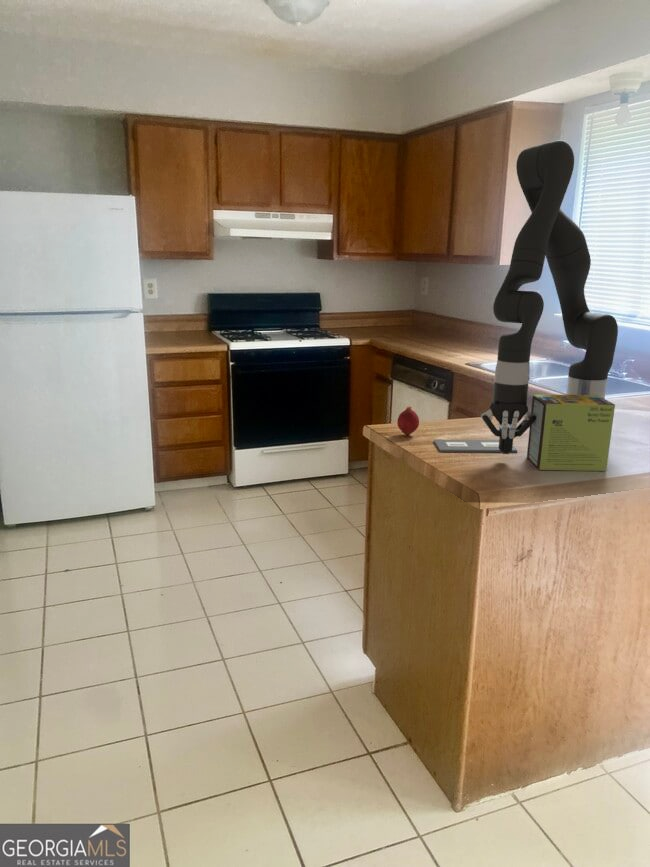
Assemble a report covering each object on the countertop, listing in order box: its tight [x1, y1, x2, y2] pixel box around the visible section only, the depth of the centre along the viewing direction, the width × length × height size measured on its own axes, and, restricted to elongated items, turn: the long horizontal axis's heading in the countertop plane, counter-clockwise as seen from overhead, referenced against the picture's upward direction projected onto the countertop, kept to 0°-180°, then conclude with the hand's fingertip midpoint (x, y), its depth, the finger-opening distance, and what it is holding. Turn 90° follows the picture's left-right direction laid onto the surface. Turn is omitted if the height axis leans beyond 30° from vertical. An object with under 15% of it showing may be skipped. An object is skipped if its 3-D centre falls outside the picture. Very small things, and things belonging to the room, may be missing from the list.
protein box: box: [526, 394, 616, 472], centre depth 147 cm, size 10×15×16 cm
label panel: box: [433, 438, 518, 453], centre depth 162 cm, size 19×9×1 cm, turn 90°
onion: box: [396, 405, 420, 436], centre depth 171 cm, size 6×6×8 cm
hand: (504, 453), depth 150 cm, fingers closed
